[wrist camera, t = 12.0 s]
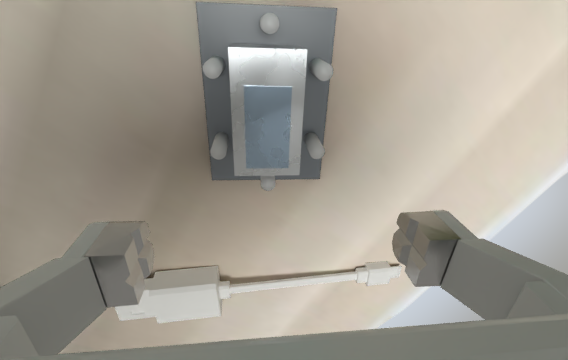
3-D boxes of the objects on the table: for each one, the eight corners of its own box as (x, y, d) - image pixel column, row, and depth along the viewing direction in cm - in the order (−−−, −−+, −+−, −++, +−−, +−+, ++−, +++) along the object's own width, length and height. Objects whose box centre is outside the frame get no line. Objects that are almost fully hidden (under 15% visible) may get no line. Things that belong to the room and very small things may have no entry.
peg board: (317, 174, 29) (326, 195, 25) (213, 175, 28) (207, 197, 24) (333, 8, 22) (348, 6, 19) (198, 2, 21) (187, -2, 18)
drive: (293, 155, 26) (299, 176, 23) (237, 155, 26) (234, 176, 22) (298, 45, 22) (307, 49, 19) (232, 43, 22) (227, 47, 18)
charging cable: (390, 275, 38) (402, 296, 35) (128, 304, 35) (118, 330, 32) (396, 245, 36) (410, 265, 33) (116, 273, 32) (104, 298, 29)
